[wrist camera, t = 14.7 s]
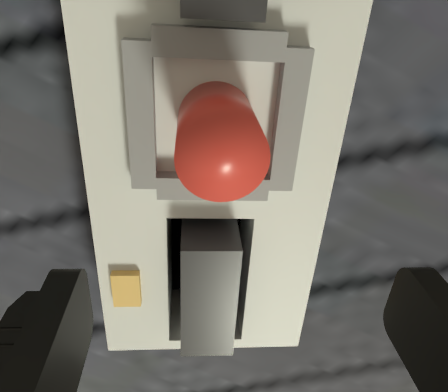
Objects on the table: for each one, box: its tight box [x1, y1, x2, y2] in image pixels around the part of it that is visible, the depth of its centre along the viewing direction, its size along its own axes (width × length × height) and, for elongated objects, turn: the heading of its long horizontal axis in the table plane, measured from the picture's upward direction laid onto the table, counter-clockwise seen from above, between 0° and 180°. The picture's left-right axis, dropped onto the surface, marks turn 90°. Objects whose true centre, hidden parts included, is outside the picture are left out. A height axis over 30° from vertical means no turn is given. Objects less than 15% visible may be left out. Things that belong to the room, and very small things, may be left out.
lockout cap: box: [174, 81, 271, 202], centre depth 20 cm, size 4×4×6 cm
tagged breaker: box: [180, 218, 243, 356], centre depth 30 cm, size 4×10×8 cm, turn 177°
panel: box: [60, 0, 373, 350], centre depth 26 cm, size 16×32×8 cm, turn 177°
